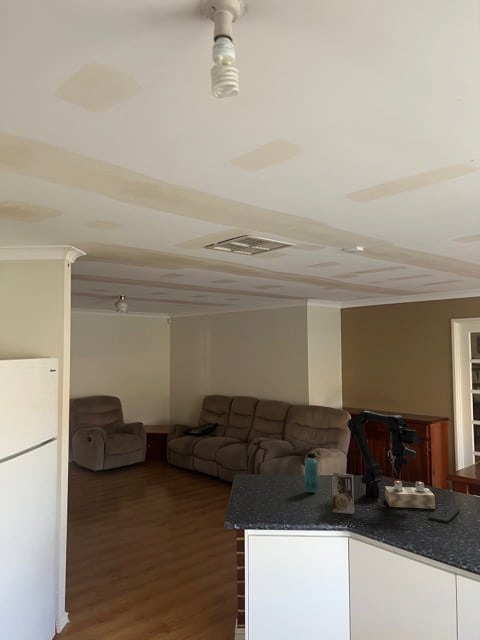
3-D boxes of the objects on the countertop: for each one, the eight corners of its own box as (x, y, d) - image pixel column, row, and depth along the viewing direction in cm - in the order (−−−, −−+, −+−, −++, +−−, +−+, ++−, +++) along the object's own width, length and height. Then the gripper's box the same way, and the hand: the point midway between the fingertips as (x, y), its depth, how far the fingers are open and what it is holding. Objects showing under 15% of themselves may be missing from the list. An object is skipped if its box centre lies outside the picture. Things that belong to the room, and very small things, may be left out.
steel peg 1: (395, 494, 221) (394, 482, 222) (393, 492, 225) (393, 480, 225) (402, 495, 221) (402, 482, 221) (401, 493, 224) (401, 480, 225)
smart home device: (460, 508, 211) (448, 520, 195) (460, 512, 211) (448, 525, 195) (441, 505, 216) (427, 516, 200) (441, 509, 216) (427, 520, 200)
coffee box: (354, 510, 212) (353, 473, 213) (353, 514, 206) (352, 477, 207) (334, 507, 215) (333, 472, 216) (332, 512, 209) (331, 475, 210)
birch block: (389, 506, 217) (389, 493, 218) (385, 498, 229) (385, 486, 230) (434, 508, 215) (434, 495, 215) (428, 500, 226) (427, 488, 227)
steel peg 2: (417, 495, 220) (416, 483, 221) (415, 493, 224) (414, 481, 224) (424, 496, 220) (424, 483, 220) (423, 493, 223) (422, 481, 224)
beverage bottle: (303, 491, 242) (303, 451, 244) (316, 490, 243) (315, 451, 244) (306, 494, 236) (306, 454, 237) (319, 494, 236) (318, 454, 238)
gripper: (419, 446, 215) (420, 481, 213) (410, 439, 233) (411, 471, 232) (394, 445, 216) (394, 480, 215) (387, 438, 235) (387, 470, 233)
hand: (397, 475), depth 224 cm, fingers closed
